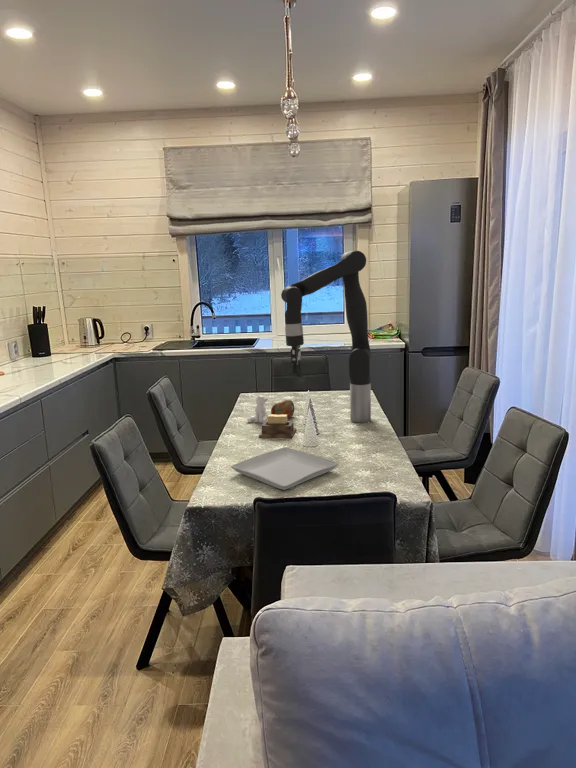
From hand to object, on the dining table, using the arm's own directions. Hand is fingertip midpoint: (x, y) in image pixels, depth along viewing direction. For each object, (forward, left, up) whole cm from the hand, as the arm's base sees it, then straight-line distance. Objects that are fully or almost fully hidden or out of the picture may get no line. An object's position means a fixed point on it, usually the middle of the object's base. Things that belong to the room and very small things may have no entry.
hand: (297, 371), depth 242 cm
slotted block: (+7, +10, -25) cm, 28 cm away
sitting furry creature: (+19, -9, -25) cm, 33 cm away
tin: (+9, -13, -26) cm, 30 cm away
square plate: (-4, +55, -26) cm, 61 cm away
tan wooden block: (+7, +10, -24) cm, 27 cm away
